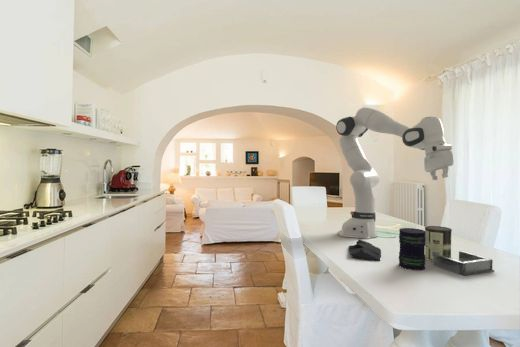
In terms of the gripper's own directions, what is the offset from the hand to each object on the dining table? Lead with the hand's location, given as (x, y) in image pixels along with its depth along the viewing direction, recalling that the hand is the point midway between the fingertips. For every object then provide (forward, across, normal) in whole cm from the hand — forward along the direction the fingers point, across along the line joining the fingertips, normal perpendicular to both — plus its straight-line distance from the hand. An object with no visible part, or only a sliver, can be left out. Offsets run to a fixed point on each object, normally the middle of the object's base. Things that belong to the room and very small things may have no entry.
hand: (440, 178), depth 143 cm
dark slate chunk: (+33, -4, -38) cm, 50 cm away
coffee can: (+36, +2, -8) cm, 37 cm away
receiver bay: (+38, +12, -3) cm, 40 cm away
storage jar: (+37, +13, -23) cm, 45 cm away
